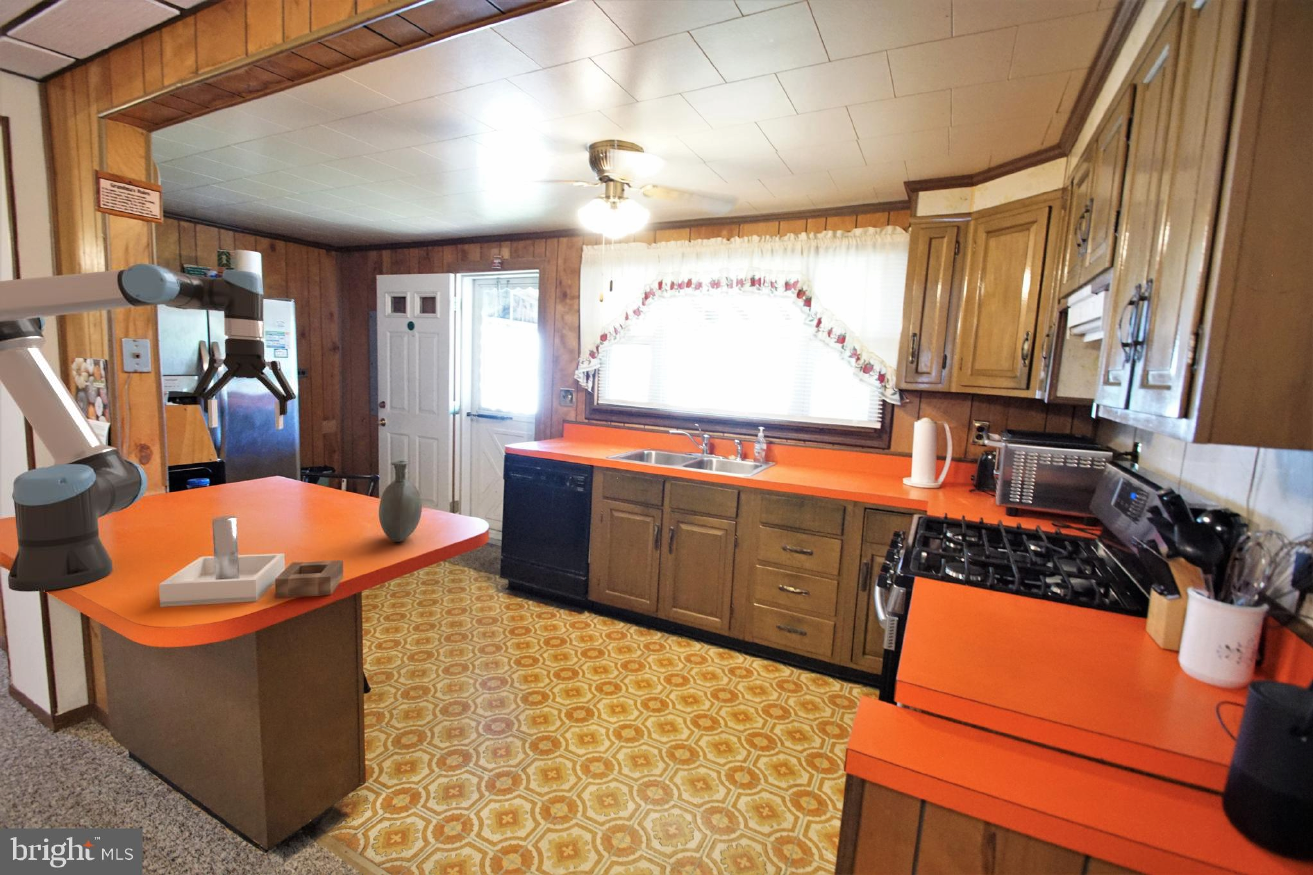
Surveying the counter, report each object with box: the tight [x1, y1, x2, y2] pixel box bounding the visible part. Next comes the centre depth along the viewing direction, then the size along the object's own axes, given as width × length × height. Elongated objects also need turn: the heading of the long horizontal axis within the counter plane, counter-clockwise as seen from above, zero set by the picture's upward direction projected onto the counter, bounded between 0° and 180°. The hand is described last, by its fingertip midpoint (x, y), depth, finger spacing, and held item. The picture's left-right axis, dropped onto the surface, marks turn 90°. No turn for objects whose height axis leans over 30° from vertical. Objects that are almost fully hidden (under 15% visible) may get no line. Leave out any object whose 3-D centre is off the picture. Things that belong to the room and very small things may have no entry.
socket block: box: [274, 560, 344, 599], centre depth 120 cm, size 10×10×4 cm
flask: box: [378, 460, 423, 543], centre depth 153 cm, size 12×17×22 cm
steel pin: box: [211, 515, 239, 580], centre depth 117 cm, size 4×4×14 cm
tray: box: [158, 553, 286, 608], centre depth 117 cm, size 16×16×4 cm
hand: (246, 428), depth 135 cm, fingers open, 13 cm apart
